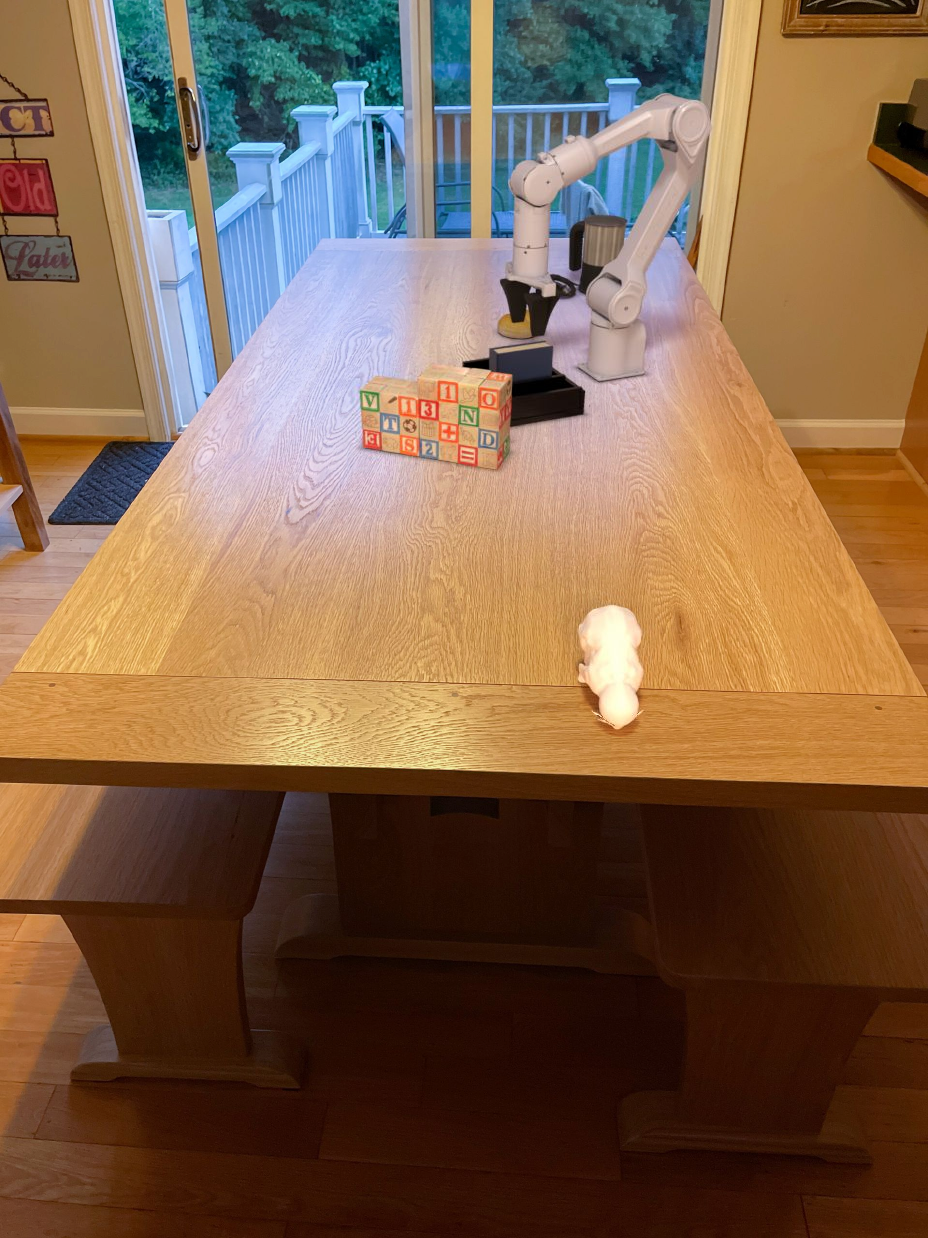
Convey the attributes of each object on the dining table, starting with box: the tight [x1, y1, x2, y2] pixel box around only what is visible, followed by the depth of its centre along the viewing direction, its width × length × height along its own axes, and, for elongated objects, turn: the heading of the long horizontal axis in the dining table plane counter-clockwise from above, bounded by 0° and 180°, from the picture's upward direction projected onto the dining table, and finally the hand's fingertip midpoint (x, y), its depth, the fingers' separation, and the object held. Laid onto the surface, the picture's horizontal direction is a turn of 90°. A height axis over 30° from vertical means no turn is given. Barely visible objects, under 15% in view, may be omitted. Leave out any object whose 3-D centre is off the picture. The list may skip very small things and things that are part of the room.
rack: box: [461, 357, 586, 428], centre depth 159 cm, size 14×19×4 cm
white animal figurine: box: [577, 604, 645, 730], centre depth 94 cm, size 6×8×12 cm
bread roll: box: [497, 309, 533, 340], centre depth 187 cm, size 8×9×4 cm
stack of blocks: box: [359, 363, 512, 470], centre depth 141 cm, size 21×6×12 cm, turn 71°
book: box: [488, 340, 554, 382], centre depth 158 cm, size 10×3×8 cm, turn 113°
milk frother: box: [549, 214, 628, 298], centre depth 206 cm, size 14×16×15 cm
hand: (527, 328), depth 162 cm, fingers open, 7 cm apart
